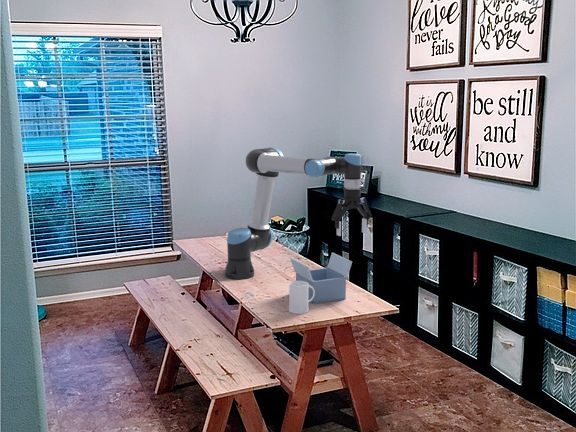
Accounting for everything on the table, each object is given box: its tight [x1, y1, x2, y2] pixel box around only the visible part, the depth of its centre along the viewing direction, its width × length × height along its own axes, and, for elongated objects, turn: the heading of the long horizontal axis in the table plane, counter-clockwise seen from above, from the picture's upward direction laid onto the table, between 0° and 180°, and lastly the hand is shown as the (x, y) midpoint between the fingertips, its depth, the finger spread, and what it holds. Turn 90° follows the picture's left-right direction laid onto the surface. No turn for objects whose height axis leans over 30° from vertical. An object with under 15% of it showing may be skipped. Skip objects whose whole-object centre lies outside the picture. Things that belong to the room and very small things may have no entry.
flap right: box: [326, 252, 353, 278], centre depth 276 cm, size 7×18×1 cm
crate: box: [295, 267, 347, 305], centre depth 274 cm, size 16×18×10 cm
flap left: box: [289, 256, 314, 282], centre depth 268 cm, size 7×18×1 cm
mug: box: [288, 280, 315, 315], centre depth 255 cm, size 12×8×12 cm
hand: (351, 234), depth 277 cm, fingers open, 13 cm apart
